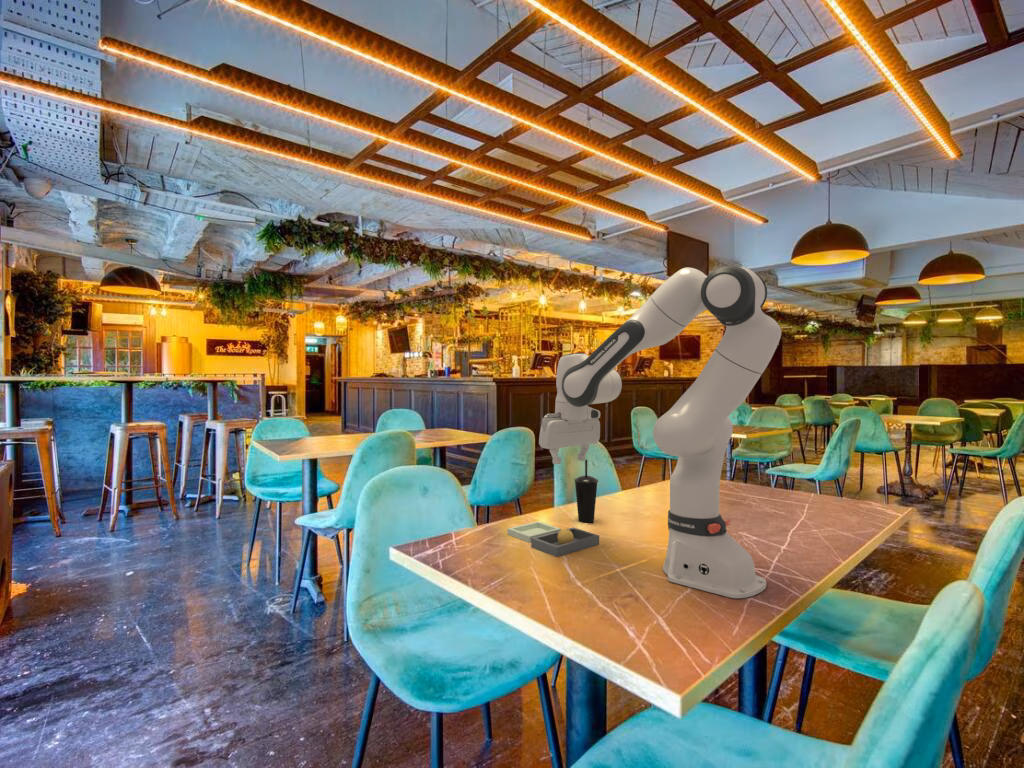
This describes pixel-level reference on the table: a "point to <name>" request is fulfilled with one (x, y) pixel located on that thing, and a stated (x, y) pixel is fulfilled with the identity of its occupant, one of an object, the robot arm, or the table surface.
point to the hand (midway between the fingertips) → (569, 462)
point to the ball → (565, 536)
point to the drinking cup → (586, 497)
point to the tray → (531, 530)
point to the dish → (553, 547)
